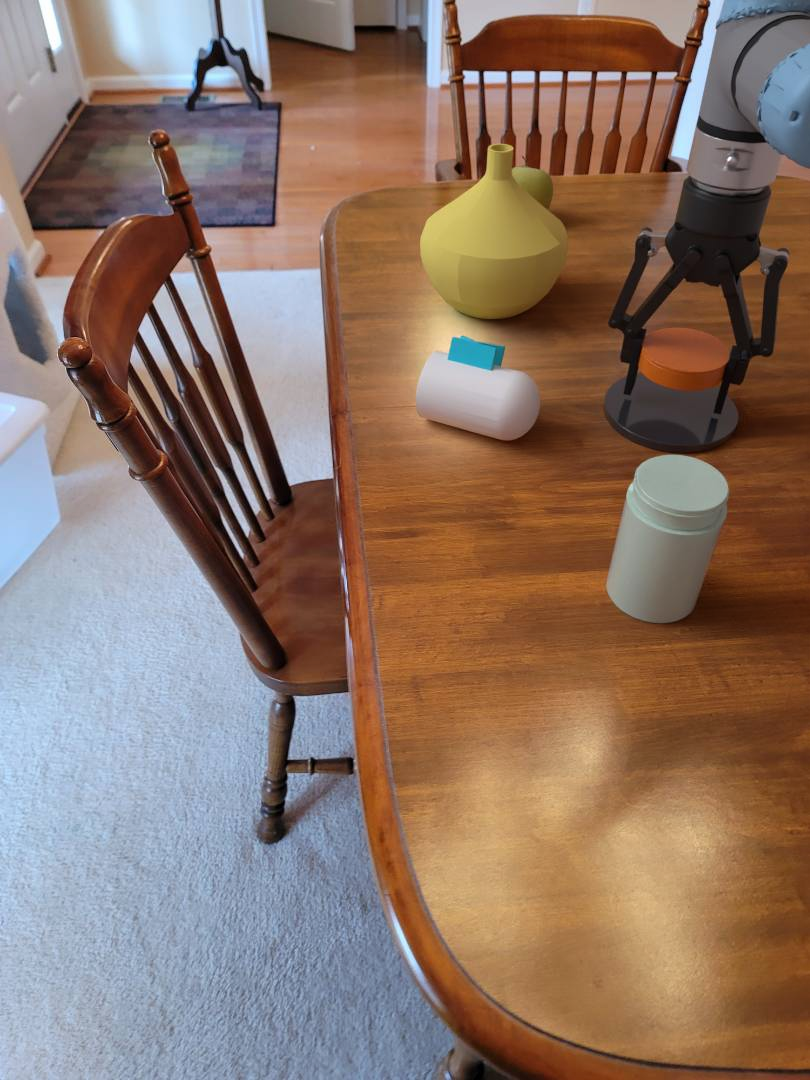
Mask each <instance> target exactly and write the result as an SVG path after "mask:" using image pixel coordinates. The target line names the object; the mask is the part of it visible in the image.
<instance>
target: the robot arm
mask: <svg viewBox="0 0 810 1080" xmlns="http://www.w3.org/2000/svg"><path fill="white" fill-rule="evenodd" d="M715 30H716V31H715V34H714V39H713V45H712V50H711V55H710V59H709V64H708V69H707V73H706V78H705V83H704V88H703V92H702V97H701V101H700V107H699V112H698V117H697V120H696V124H695V129H694V132H693V138H692V143H691V145H690V146H691V147H690V150H689V155H688V160H687V165H686V170H685V171H686V172H687V174H688V176H687V177H686V178H685V179H684V180H683V183H682V187H681V188H682V189H681V192H680V195H679V201H678V205H677V210H676V215H675V220H674V223H673V225H672V226H671V227H670V229H668V231H667V232H666V231H653V229H652V228H650V227H643V228H641V230H640V231H639V234H638V236H637V238H636V240H635V244H634V246H635V248H634V261H633V263H632V265H631V267H630V271H629V273H628V275H627V276H626V279H625V281H624V284H623V287H622V289H621V291H620V293H619V296H618V298H617V301H616V302H615V305H614V307H613V310H612V312H611V314H610V317H609V318H608V322H607V324H608V327H609V328H610V329H612V330H615V329H617V330H619V331H620V332H621V333H622V334H623V339H622V345H621V351H620V356H619V360H620V362H621V363H625V364H629V365H628V370H627V374H626V376H627V379H626V384H625V388H624V393H623V394H625V395H631V393H632V390H633V387H634V385H635V382H636V377H637V373H639V372H638V371H639V366H638V360H639V355H640V351H641V346H642V342H643V340H644V338H645V337H646V336H647V328H644V326H645V325H646V323H647V322H648V321H649V320H650V319H651V317H653V315H654V314H655V313H656V311H657V310H659V308H660V307H661V306H662V304H663V303H664V302H665V301H666V300H667V298H668V297H669V296H670V295H671V294H672V292H673V291H674V290H676V288H677V287H679V285H680V284H681V283H682V281H683V280H685V283H691V284H692V283H693V284H697V283H703V284H706V285H708V286H710V287H714V288H715V287H717V288H719V287H720V286H721V291H722V295H723V298H724V299H725V303H726V306H727V312H728V315H729V319H730V324H731V328H732V332H733V336H734V337H733V338H734V341H735V345H734V344H733V345H732V346H731V349H730V357H729V361H728V365H727V368H726V371H725V375H724V378H723V380H722V381H721V382H720V387H719V389H720V390H719V393H718V397H717V400H716V404H715V408H714V412H713V413H716V414H721V412H722V409H723V405H724V402H725V399H726V396H728V393H729V389H730V386H731V385H735V386H741V384H742V383H743V382H744V380H745V377H746V373H747V371H748V368H749V364H750V361H751V360H752V358H754V357H757V356H758V357H759V356H762V357H763V358H768V357H771V356H772V355H773V354H774V349H775V344H776V343H775V342H776V337H777V323H778V310H779V299H780V286H781V280H782V278H783V276H784V274H785V271H786V270H787V268H788V264H789V259H790V250H789V249H788V248H786V247H781V248H778V249H777V250H776V249H772V248H770V247H769V248H768V247H765V246H762V242H761V239H760V233H761V229H762V227H763V223H764V221H765V217H766V213H767V210H768V207H769V203H770V199H771V196H772V188H771V187H770V185H772V184H773V183H775V180H776V178H777V175H778V172H779V168H780V165H781V163H782V158H783V156H785V157H786V158H787V159H788V160H790V161H792V162H794V164H796V165H798V166H800V167H802V168H804V169H805V168H806V169H810V0H723V2H722V5H721V10H720V14H719V17H718V19H717V20H716V22H715ZM663 247H665V248H666V250H667V253H668V255H669V257H670V259H671V260H672V263H673V264H672V265H671V266H670V267H669V269H668V270H667V272H666V273H665V275H664V276H663V277H662V278H661V280H660V281H659V282H658V284H656V286H655V287H654V288H653V289H652V290H651V292H650V294H648V296H647V297H646V298H645V299H644V301H643V302H642V303H641V304H640V306H639V307H638V308H637V309H636V311H635V312H634V313H633V314H632V315H630V314H628V313H627V310H628V308H629V305H630V303H631V301H632V299H633V296H634V294H635V291H636V290H637V288H638V285H639V283H640V281H641V278H642V276H643V274H644V272H645V269H646V267H647V265H648V263H649V261H650V258H653V257H655V256H657V254H658V252H659V250H660V249H661V248H663ZM756 261H757V262H759V264H760V269H759V270H760V273H761V275H763V276H765V281H764V287H763V296H762V297H763V298H762V299H763V300H762V313H761V314H762V315H761V329H760V337H754V333H753V330H752V325H751V321H750V315H749V311H748V306H747V303H746V302H747V301H746V298H745V293H744V290H743V289H744V288H743V284H742V276H741V273H742V272H743V271H745V270H746V269H747V268H749V266H750V265H752V264H753V263H755V262H756Z"/></svg>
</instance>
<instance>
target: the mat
mask: <svg viewBox="0 0 810 1080" xmlns="http://www.w3.org/2000/svg"><path fill="white" fill-rule="evenodd" d="M626 379H627V375H626V376H624V377H621V378H620V379H618V380H616V381H615V382H614V383H613V384H611V385H610V387H608V389H607V390H606V392H605V395H604V401H603V414H604V417H605V419H606V421H607V423H608V424H609V425H610V426H611V427H612V428H613V429H614V430H615V431H616V432H617V433H618V434H619V435H621V436H622V437H624V438H626V439H628V440H629V441H631V442H633V443H635V444H637V445H640V446H643V447H645V448H648V449H652V450H656V451H661V452H666V453H674V454H694V453H702V452H707V451H710V450H713V449H715V448H716V449H717V448H718V447H721V446H722V445H723V444H725V443H726V442H728V441H729V440H730V439H731V438H732V436H733V435H734V434H735V432H736V429H737V425H738V422H739V412H738V408H737V406H736V404H735V403H734V401H733V400H732V399H731V398H730V397H729V396H728V395H727V396H726V399H725V402H724V405H723V409H722V412H721V414H716V413H713V412H714V408H715V404H716V400H717V397H718V393H719V390H720V388H719V387H717V386H714V387H712V388H709V389H705V390H699V391H683V390H676V389H671V388H667V387H664V386H661V385H659V384H657V383H655V382H653V381H651V380H649V379H648V378H647V377H646V376H644V375H643V373H642V372H637V377H636V382H635V385H634V387H633V390H632V393H631V395H625V394H623V393H624V388H625V384H626Z"/></svg>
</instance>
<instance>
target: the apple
mask: <svg viewBox="0 0 810 1080" xmlns="http://www.w3.org/2000/svg"><path fill="white" fill-rule="evenodd" d="M521 158H522V159H523V160H524V162H525V164H526V165H517V166H514V167H512V176H513V177H514V179H515V180H516V182H517V183H518V185H520V186H521V187H522V188H523V189H524V190H525V191H526V192H527V193H528V194H530V195H531V196H532V197H533V198H534V199H535V200H536V201H537V202H538V203H540V204H541V205H542V206H543V207H544V208H546V209H547V210H548V211H549V210H550V207H551V203H552V200H553V195H554V185H553V180H552V177H551V176H550V174H549V173H548V172H546V171H545V170H542V169H539V168H535V167H534V168H533V167H530V166H529V164H528V162H527V160H526V158H525V157H524V155H522V156H521Z"/></svg>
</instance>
